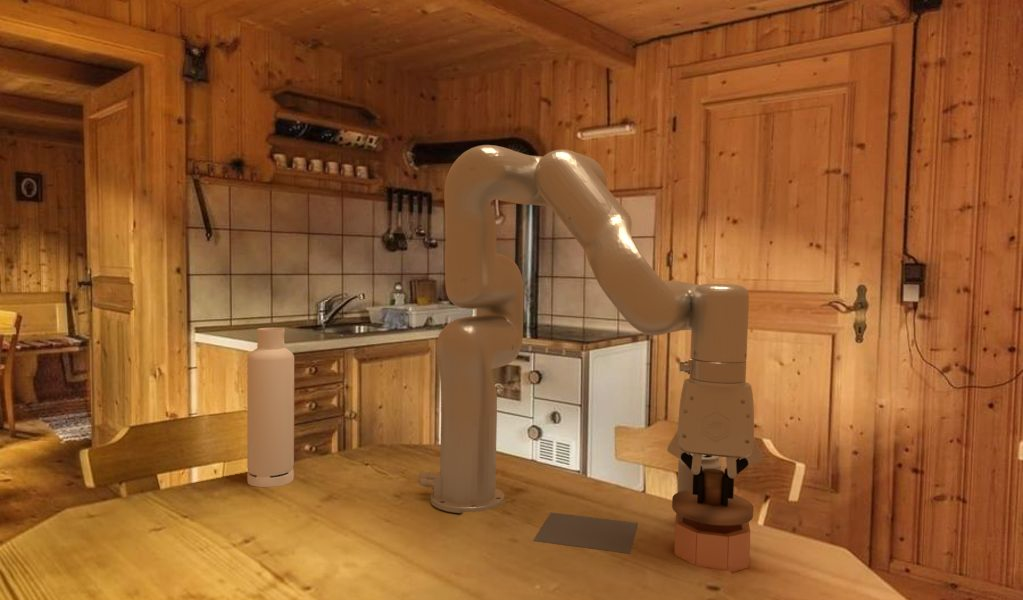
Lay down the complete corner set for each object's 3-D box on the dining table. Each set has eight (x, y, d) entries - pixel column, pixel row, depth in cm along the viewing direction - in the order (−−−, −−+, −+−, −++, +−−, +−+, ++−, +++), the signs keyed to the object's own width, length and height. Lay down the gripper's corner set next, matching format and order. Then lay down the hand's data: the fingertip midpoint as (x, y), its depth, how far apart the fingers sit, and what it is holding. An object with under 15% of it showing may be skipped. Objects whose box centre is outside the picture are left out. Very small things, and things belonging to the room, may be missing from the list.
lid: (670, 519, 94) (671, 479, 94) (673, 493, 105) (675, 457, 104) (755, 529, 91) (757, 488, 91) (750, 502, 102) (752, 464, 101)
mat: (533, 544, 101) (533, 540, 101) (550, 515, 113) (550, 512, 113) (629, 557, 97) (629, 553, 97) (637, 526, 109) (637, 522, 109)
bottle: (285, 487, 124) (285, 331, 122) (240, 486, 124) (240, 330, 122) (299, 473, 132) (300, 327, 130) (257, 472, 132) (257, 326, 130)
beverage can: (720, 539, 105) (723, 460, 104) (676, 534, 106) (679, 457, 105) (716, 523, 111) (719, 449, 110) (675, 519, 112) (678, 446, 111)
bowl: (673, 566, 95) (674, 530, 94) (676, 538, 104) (677, 506, 104) (750, 576, 92) (751, 539, 92) (745, 547, 102) (747, 513, 101)
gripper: (656, 372, 95) (651, 503, 96) (782, 380, 91) (776, 517, 92) (659, 364, 103) (655, 487, 104) (776, 372, 98) (771, 499, 99)
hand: (712, 500), depth 98 cm, fingers closed on lid, 2 cm apart
